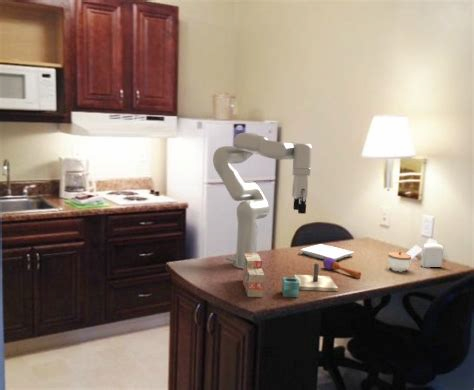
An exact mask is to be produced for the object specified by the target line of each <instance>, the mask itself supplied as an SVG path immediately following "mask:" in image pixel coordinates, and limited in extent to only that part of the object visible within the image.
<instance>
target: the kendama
mask: <svg viewBox="0 0 474 390" xmlns="http://www.w3.org/2000/svg"><path fill="white" fill-rule="evenodd" d="M322 262H323V264H322V265H323V267H324V268H325V269H326V270H328V271H329V270H331V271H332V270H333V271H337V270H341V271H343V272H345V273H346V274H349V276H351V277H353V278H356V279H360V278H361V276H362V273H361V271H358V270H353V269H350V268H346V267H344V266H343V267H342V266H341V265H340V264H339V262H338V261H335V260H334V259H333V258H331V257H328V258H326V259H325V260H324V259H323V261H322Z"/></svg>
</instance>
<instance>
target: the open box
mask: <svg viewBox="0 0 474 390" xmlns="http://www.w3.org/2000/svg"><path fill="white" fill-rule="evenodd" d="M281 280H282V283H281V293H282V296H283V297H287V298H289V297H291V298H299V296H300V295H299V294H300V289H299V284H300V282H299V281H298V279H297V278H294V277H282V279H281Z"/></svg>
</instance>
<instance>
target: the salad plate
mask: <svg viewBox="0 0 474 390" xmlns="http://www.w3.org/2000/svg"><path fill="white" fill-rule="evenodd" d="M300 251H301V252H302V253H303V254H305V255H307V256H310V257H312V258H317V259H321V260H323V261H324V260H325V259H326V258H328V257H331V258H333V259H334V260H335V262H337V261H338V260H342V259H344V257H345V258H347V257H350V256H352V255H353V254H354V253H355V252H354V251H353V250H352V251H351V250H348V249H344V248H340V247H335V246H332V245H328V244H327V245H326V244H323V243H320V244H319V243H318V244H315V245H311V246H308V247H304V248H300Z"/></svg>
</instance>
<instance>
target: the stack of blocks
mask: <svg viewBox="0 0 474 390" xmlns="http://www.w3.org/2000/svg"><path fill="white" fill-rule="evenodd" d="M262 264H263V262H262V259H261V257H260V255H259V253H256V254H255V253H244V263H243V270H242V282H243V286H244V288H245V292H246V296H247V297H248V298H249V297H251V298H263V297H264V286H265V277H266V276H265V273H264V271H263V269H262V267H263V265H262Z"/></svg>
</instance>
